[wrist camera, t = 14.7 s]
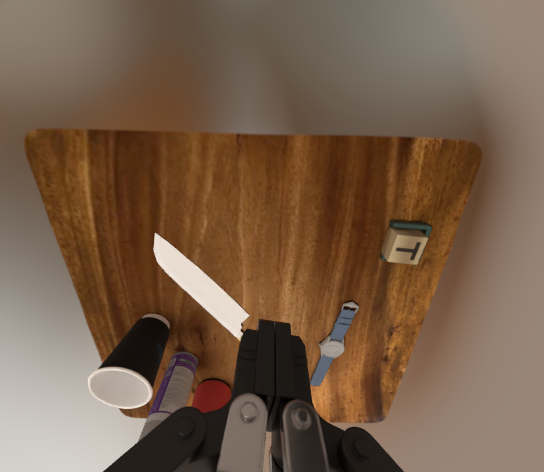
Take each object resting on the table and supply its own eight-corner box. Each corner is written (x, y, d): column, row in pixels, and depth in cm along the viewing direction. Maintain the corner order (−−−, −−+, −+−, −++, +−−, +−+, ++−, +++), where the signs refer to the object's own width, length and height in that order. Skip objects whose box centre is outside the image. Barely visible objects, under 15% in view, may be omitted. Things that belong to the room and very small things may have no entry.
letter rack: (379, 256, 37) (382, 260, 36) (390, 220, 34) (393, 223, 34) (415, 259, 37) (419, 263, 36) (429, 222, 35) (433, 226, 34)
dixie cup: (119, 317, 42) (72, 382, 32) (157, 298, 40) (119, 360, 31) (153, 348, 45) (119, 415, 35) (189, 331, 43) (164, 397, 34)
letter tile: (380, 251, 37) (387, 262, 34) (389, 225, 35) (397, 234, 32) (408, 254, 37) (417, 265, 34) (418, 229, 35) (429, 238, 33)
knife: (164, 226, 35) (136, 246, 35) (298, 371, 46) (276, 384, 47) (166, 223, 36) (140, 243, 36) (297, 365, 47) (275, 377, 48)
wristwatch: (364, 302, 40) (366, 307, 40) (324, 384, 49) (325, 390, 48) (337, 298, 40) (339, 302, 39) (302, 381, 49) (303, 386, 48)
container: (178, 371, 48) (141, 475, 34) (167, 354, 46) (122, 457, 32) (202, 366, 47) (174, 470, 34) (191, 349, 45) (156, 451, 32)
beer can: (227, 402, 52) (215, 480, 41) (194, 396, 51) (172, 473, 40) (235, 382, 49) (224, 459, 38) (200, 374, 48) (179, 451, 37)
